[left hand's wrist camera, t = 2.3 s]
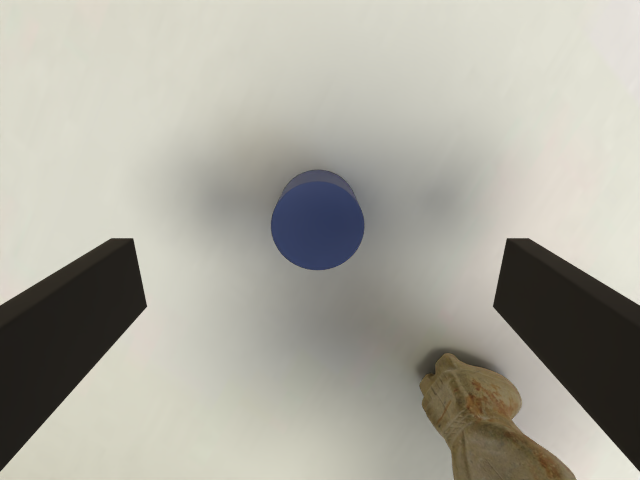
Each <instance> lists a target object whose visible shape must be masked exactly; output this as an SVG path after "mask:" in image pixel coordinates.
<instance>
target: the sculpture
mask: <svg viewBox="0 0 640 480" xmlns="http://www.w3.org/2000/svg"><path fill="white" fill-rule="evenodd" d="M435 369H436V370H435V375H434V374H432V373H429V374H427V375H426V376H425V377H424V378H423V379H422V381H421V383H420V389H421V391H422V393H423V395H424V398H423V400H422V406H423V409H424V410H425V412H426V415H427V417H428V418H429V420H430V421H431V423H432V424H433V426H434V427H435V428H436V430H437V431H438V432H439V433H440V435H441V436H442V437H443V438H444V439H445V441H446V443H447V445H448V446H449V448H450V450H451V454H452V466H453V475H454V480H576V478H575V476H574V474H573V473H572V472H571V470H570V469H569V468H568V467H567V466H566V465H565V464H564V463H563V462H562V461H560V460H559V459H558V458H557V457H556V456H554V455H553V454H552V453H550V452H549V451H548V450H546V449H545V448H543V447H542V446H540V445H539V444H537V443H536V442H534V441H533V440H532V439H530V438H529V437H527V436H526V435H524V434H523V433H522V432H521V431H520V429H519V428H518V427H517V426H516V425H515V424H514V422H513V421H512V419H513V417H514V416H515V415H516V414H517V413H518V412H519V410H520V408H521V406H522V400H521V397H520V394H519V392H518V391H517V389H516V387H515V386H514V385H513V384H512V383H511V382H510V381H509V380H508V379H506V378H505V377H503V376H502V375H500V374H498V373H496V372H494V371H491V370H488V369H485V368H482V367H477V366H472V365H468V364H465V363H463V362H462V361H460V360H458V359H457V358H456V356H454V355H453V354H450V353H445V354H443V356H442V357H441V358H440V359H439V360H438V361H437V362H436V364H435Z"/></svg>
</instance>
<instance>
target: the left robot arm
mask: <svg viewBox="0 0 640 480" xmlns="http://www.w3.org/2000/svg"><path fill="white" fill-rule="evenodd" d="M146 307H147V304H146V299H145V294H144V289H143V284H142V280H141V275H140V270H139V265H138V260H137V255H136V250H135V245H134V240H133V238H111V239H109V240H108V241H106V242H105V243H103V244H101V245H100V246H98V247H96V248H95V249H93V250H91V251H90V252H88V253H86V254H85V255H83V256H81V257H80V258H78V259H76V260H75V261H73V262H71V263H70V264H68V265H67V266H65V267H63V268H62V269H60V270H58V271H57V272H55V273H53V274H52V275H50V276H48V277H47V278H45V279H43V280H42V281H40V282H38V283H37V284H35V285H34V286H32V287H30V288H29V289H27V290H25V291H24V292H22V293H20V294H19V295H17V296H15V297H14V298H12V299H10V300H9V301H7V302H5V303H4V304H2V305H0V471H1V470H2V469H3V468H4V467H5V466H6V465H7V463H8V462H9V461H10V460H11V459H12V458H13V457H14V456H15V454H16V453H17V452H18V451H19V450H20V449H21V448H22V447H23V445H24V444H25V443H26V442H27V441H28V440H29V439H30V438H31V436H32V435H33V434H34V433H35V432H36V431H37V430H38V429H39V427H40V426H41V425H42V424H43V423H44V422H45V421H46V420H47V418H48V417H49V416H50V415H51V414H52V413H53V412H54V411H55V410H56V408H57V407H58V406H59V405H60V404H61V403H62V402H63V401H64V399H65V398H66V397H67V396H68V395H69V394H70V393H71V392H72V390H73V389H74V388H75V387H76V386H77V385H78V384H79V383H80V381H81V380H82V379H83V378H84V377H85V376H86V375H87V374H88V372H89V371H90V370H91V369H92V368H93V367H94V366H95V365H96V363H97V362H98V361H99V360H100V359H101V358H102V357H103V356H104V354H105V353H106V352H107V351H108V350H109V349H110V348H111V347H112V345H113V344H114V343H115V342H116V341H117V340H118V339H119V338H120V336H121V335H122V334H123V333H124V332H125V331H126V330H127V329H128V327H129V326H130V325H131V324H132V323H133V322H134V321H135V320H136V318H137V317H138V316H139V315H140V314H141V313H142V312H143V311H144V309H145V308H146ZM493 307H494V308H495V309H496V311H497V312H498V313H499V314H500V315H501V316H502V317H503V318H504V320H505V321H506V322H507V323H508V324H509V325H510V326H511V327H512V329H513V330H514V331H515V332H516V333H517V334H518V335H519V336H520V338H521V339H522V340H523V341H524V342H525V343H526V344H527V345H528V347H529V348H530V349H531V350H532V351H533V352H534V353H535V354H536V356H537V357H538V358H539V359H540V360H541V361H542V362H543V363H544V365H545V366H546V367H547V368H548V369H549V370H550V371H551V372H552V374H553V375H554V376H555V377H556V378H557V379H558V380H559V381H560V383H561V384H562V385H563V386H564V387H565V388H566V389H567V390H568V392H569V393H570V394H571V395H572V396H573V397H574V398H575V399H576V401H577V402H578V403H579V404H580V405H581V406H582V407H583V408H584V410H585V411H586V412H587V413H588V414H589V415H590V416H591V417H592V418H593V420H594V421H595V422H596V423H597V424H598V425H599V426H600V427H601V429H602V430H603V431H604V432H605V433H606V434H607V435H608V436H609V438H610V439H611V440H612V441H613V442H614V443H615V444H616V445H617V447H618V448H619V449H620V450H621V451H622V452H623V453H624V454H625V456H626V457H627V458H628V459H629V460H630V461H631V462H632V463H633V465H634V466H635V467H636V468H637V469H638V470H639V471H640V305H638V304H636V303H635V302H633V301H631V300H630V299H628V298H626V297H625V296H623V295H621V294H620V293H618V292H616V291H615V290H613V289H611V288H610V287H608V286H606V285H605V284H603V283H602V282H600V281H598V280H597V279H595V278H593V277H592V276H590V275H588V274H587V273H585V272H583V271H582V270H580V269H578V268H577V267H575V266H573V265H572V264H570V263H569V262H567V261H565V260H564V259H562V258H560V257H559V256H557V255H555V254H554V253H552V252H550V251H549V250H547V249H545V248H544V247H542V246H540V245H539V244H537V243H535V242H534V241H532V240H531V239H529V238H507V240H506V245H505V250H504V255H503V260H502V265H501V270H500V275H499V280H498V284H497V289H496V294H495V299H494V304H493Z"/></svg>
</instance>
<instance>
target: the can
mask: <svg viewBox="0 0 640 480" xmlns="http://www.w3.org/2000/svg"><path fill="white" fill-rule="evenodd" d="M271 231H272V236H273V240H274V242H275V244H276V246H277V248H278V250H279V251H280V252H281V254H282V255H283V256H284V257H285V258H286V259H288V260H289V261H290V262H292V263H293V264H295V265H297V266H300V267H302V268H305V269H310V270H325V269H330V268H333V267H336V266H338V265H340V264H342V263H344V262H345V261H346V260H348V259H349V258H350V257H351V256H352V255H353V254H354V253H355V251H356V250H357V249H358V247H359V245H360V243H361V241H362V238H363V234H364V218H363V214H362V210H361V208H360V206H359V204H358V202H357V200H356V197H355V195H354V193H353V191H352V189H351V188H350V186H349V185H348V184H347V182H346V181H345V180H343V179H342V178H341V177H339V176H338V175H336V174H334V173H332V172H329V171H324V170H311V171H307V172H304V173H301V174H299V175H298V176H296V177H295V178H293V179H292V180H291V181H290V182H289V183H288V184H287V185H286V187H285V188H284V190H283V192H282V194H281V196H280V198H279V200H278V203H277V205H276V207H275V209H274V212H273V215H272V220H271Z"/></svg>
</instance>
